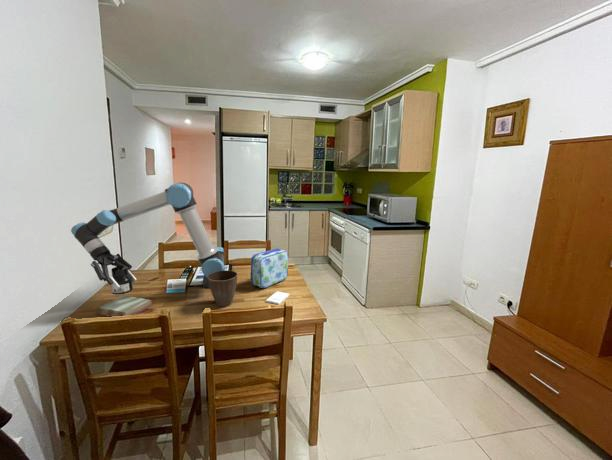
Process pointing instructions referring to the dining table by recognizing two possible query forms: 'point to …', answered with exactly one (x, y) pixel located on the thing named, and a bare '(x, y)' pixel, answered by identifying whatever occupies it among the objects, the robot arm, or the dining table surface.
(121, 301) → the mat platform
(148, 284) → the dining table surface
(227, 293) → the plant pot
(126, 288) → the ink bottle
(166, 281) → the dining table surface
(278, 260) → the lunch box
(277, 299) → the external hard drive
